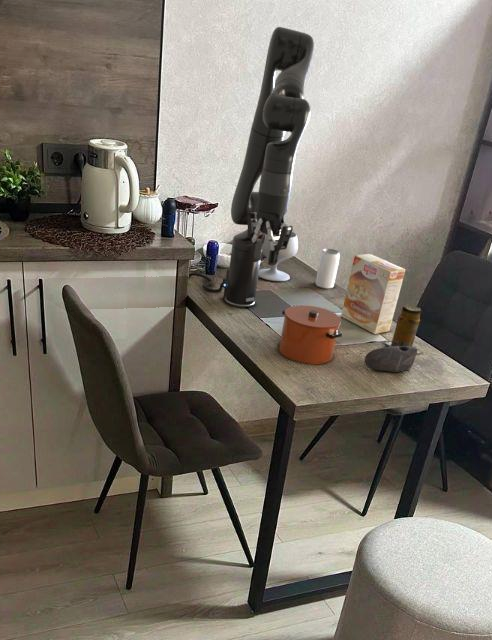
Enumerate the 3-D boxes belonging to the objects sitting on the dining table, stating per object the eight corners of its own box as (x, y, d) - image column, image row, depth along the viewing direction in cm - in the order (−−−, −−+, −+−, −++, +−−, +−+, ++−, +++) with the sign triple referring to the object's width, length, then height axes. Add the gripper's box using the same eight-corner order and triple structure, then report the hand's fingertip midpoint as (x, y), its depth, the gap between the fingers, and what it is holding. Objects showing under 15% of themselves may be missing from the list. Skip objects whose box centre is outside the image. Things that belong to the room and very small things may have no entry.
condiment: (403, 341, 217) (414, 302, 210) (421, 353, 211) (433, 314, 204) (384, 343, 214) (394, 304, 207) (401, 355, 208) (413, 315, 201)
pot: (262, 344, 202) (269, 303, 196) (300, 335, 211) (308, 296, 205) (311, 371, 191) (319, 329, 184) (349, 360, 200) (358, 319, 193)
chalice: (264, 283, 246) (271, 239, 237) (246, 270, 256) (252, 226, 248) (299, 282, 251) (307, 239, 243) (280, 269, 261) (287, 226, 253)
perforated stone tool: (364, 373, 194) (371, 349, 190) (359, 364, 198) (364, 341, 194) (417, 375, 197) (424, 352, 193) (410, 367, 201) (417, 344, 197)
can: (334, 289, 249) (341, 255, 242) (316, 287, 249) (322, 252, 242) (332, 283, 254) (339, 249, 248) (314, 281, 254) (320, 247, 247)
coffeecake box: (340, 316, 228) (353, 254, 217) (355, 313, 232) (370, 252, 221) (374, 334, 218) (390, 271, 208) (390, 331, 222) (406, 268, 211)
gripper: (307, 197, 170) (294, 268, 179) (265, 182, 178) (255, 251, 188) (284, 199, 165) (272, 272, 175) (243, 183, 174) (233, 254, 183)
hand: (263, 260), depth 181 cm, fingers open, 5 cm apart
